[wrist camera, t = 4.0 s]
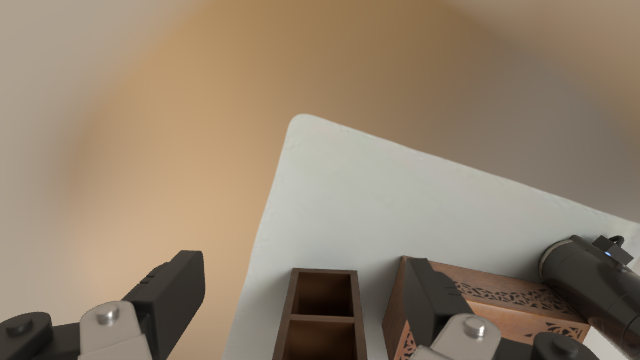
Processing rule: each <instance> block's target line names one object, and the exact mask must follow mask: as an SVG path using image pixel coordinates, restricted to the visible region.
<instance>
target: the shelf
mask: <svg viewBox="0 0 640 360" xmlns="http://www.w3.org/2000/svg"><path fill="white" fill-rule="evenodd" d="M272 360H368V359H367V351H366V342H365V334H364V326H363V318H362V309H361V301H360V293H359V284H358V276H357V271H353V270H329V269H304V268H293V270H292V274H291V279H290V283H289V287H288V292H287V296H286V301H285V305H284V309H283V314H282V318H281V322H280V327H279V331H278V336H277V340H276V344H275V349H274V353H273V357H272Z"/></svg>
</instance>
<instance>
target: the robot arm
mask: <svg viewBox="0 0 640 360" xmlns="http://www.w3.org/2000/svg"><path fill="white" fill-rule="evenodd" d="M615 241H617V242H616V243H614V242H615ZM623 242H624V238H623V237H622V236H614V237H611V238H609V239H607V238H605V237H603V236H602V235H601V236H600V237H599V238H597V239H596V240H595V241H594V242H593V243H592V244H590V243H589V242H587V241H585V240H584V239H582V238H581V237H579V236H577V235H574V236H573V237H572V238H571V239H567V240H563V241H560V242H557V243H555V244H554V245H552V246H551V247H549V248H548V249H547V250H546V251H545V253H544V254H543V255H542V257H541V259H540V262H539V274H540V277H541V279H542V280H543V281H544V282H545V283H546V284H547V285H548V286H549V287H550V288H552V289H553V290H554V291H555V292H556V293H557V294H558V295H559V296H560V297H562V298H563V299H564V300H565V301H566V302H567V303H568V304H569V305H570V306H571V307H572V308H573V309H574V310H575V311H577V312H578V313H579V314H580V315H581V316H582V317H583V318H584V319H585V320H586V321H587V322H588V323H589V324H591V325H592V326H593V327H594V328H595V329H596V330H597V331H598V332H599V333H600V334H601V335H602V336H604V338H606V339H607V340H608V341H609V342H610V343H611V344H612V345H613V346H614V347H615V348H616V349H618V351H619V352H621V353H622V354H623V355H624V356H625V357H626V358H627V359H628V360H640V276H638V275H637V274H635V273H634V272H633V271H632V270H630V269H629V268H628V267H627V266H626V265H627V264H628V263H629V262H630V261H631V260H633V259H634V258H633V257H632V256H631V255H630V254H628V253H627V252H626V251H625V250H623V249H622V248H621V245H622V244H623ZM204 295H205V276H204V261H203V254H202V252H201V251H188V250H181V251H180V252H179V253H178V254H177V255H176V256H175V257H174V258H173V259H172V260H171V261H170V262H166V263H164V264H162V265H160V266H158V267H156V268H154V269H153V270H152V271H151V272H150V273H149V274H148V275H147V276H146V277H145V278H144V279H142V280H141V281H140V284H137V285H136V286H135V287H134V288H133V289H132V290H131V291H130V292H129V293H128V294H127V295H126V296H125V297H124V298H123V299H122V300H120V301H111V302H107V303H104V304H101V305H98V306H96V307H94V308H92V309H90V310H89V311H87V312H86V313H85V314H84V315H83V316H82V317H81V319H80V322H78V323H72V324H66V325H60V326H53V327H52V322H51V317H50V315H49V314H47V313H44V312H31V313H26V314H22V315H18V316H15V317H13V318H10V319H8V320H6V321H3V322H2V323H0V360H166V359H167V357H168V356H169V354H170V352H171V351H172V350H173V348H174V346H175V345H176V343H177V342H178V340H179V339H180V337H181V335H182V334H183V332H184V331H185V329H186V328H187V326H188V324H189V323H190V321H191V320H192V318H193V317H194V315H195V313H196V312H197V310H198V309H199V307H200V306H201V304H202V302H203V299H204ZM403 308H404V312H405V315H406V318H407V321H408V324H409V327H410V330H411V333H412V336H413V339H414V342H415V345H416V347H417V349H416V350H415V351H414V353H413V354H412V355H411V357H410V358H409V359H408V360H599V359H598V358H597V357H596V355H595V354H594V353H593V352H592V351H591V350H590V349H589V348H587V347H586V346H585V345H583V344H582V343H580V342H579V341H577V340H575V339H573V338H571V337H568V336H566V335H562V334H559V333H554V332H541V333H538V334H536V335H535V337H534V340H533V345H530V344H526V343H522V342H517V341H513V340H510V339H506V338H503V337H501V332H500V330H499V328H498V327H497V326H496V325H495V324H494V323H492V322H491V321H489V320H488V319H486V318H483V317H481V316H478V315H475V313H474V312H473V310H472V309H471V307H470V306H469V304H468V303H467V301H466V300H465V298H464V297H463V296H462V294H461V292H460V291H459V289H457V286H456V285H455V283H454V282H453V280H452V279H451V278H450V277H448V276H447V275H445V274H444V273H443V272H436V271H434V269H433V268H432V266H431V264H430V263H429V261H428V259H426V258H407V259H406V263H405V273H404V285H403Z"/></svg>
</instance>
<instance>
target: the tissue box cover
mask: <svg viewBox="0 0 640 360" xmlns="http://www.w3.org/2000/svg"><path fill="white" fill-rule="evenodd" d="M407 258H413V257H408V256H403V257H402V260H401V263H400V267H399V270H398V273H397V276H396V280H395V283H394V286H393V290H392V293H391V296H390V300H389V303H388V306H387V310H386V313H385V316H384V319H383V323H382V329H383V334H384V339H385V344H386V349H387V354H388V359H389V360H408V359H409V358H410V357H411V355H412V354H413V353H414V351H415V350H416V349H417V347H416V345H415V342H414V339H413V336H412V333H411V330H410V327H409V324H408V321H407V318H406V315H405V312H404V308H403V285H404V273H405V263H406V259H407ZM429 263H430V264H431V266H432V268H433V269H434V271H436V272H443V273H444V274H445V275H447V276H448V277H450V278H451V279H452V280H453V282H454V283H455V285H456V286H457V289H459V291H460V292H461V294H462V296H463V297H464V298H465V300H466V301H467V303H468V304H469V306H470V307H471V309H472V310H473V312H474V313H475V315H478V316H481V317H483V318H486V319H488V320H489V321H491V322H492V323H494V324H495V325H496V326H497V327H498V328H499V330H500V332H501V337H503V338H506V339H510V340H513V341H517V342H522V343H526V344H530V345H533V340H534V337H535V335H536V334H538V333H541V332H554V333H559V334H562V335H566V336H568V337H571V338H573V339H575V340H577V341H579V342H580V343H583V341H584V339H585V337H586V335H587V333H588V331H589V329H590V327H591V324H589V323H588V322H587V321H586V320H585V319H584V318H583V317H582V316H581V315H580V314H579V313H578V312H577V311H575V310H574V309H573V308H572V307H571V306H570V305H569V304H568V303H567V302H566V301H565V300H564V299H563V298H562V297H560V296H559V295H558V294H557V293H556V292H555V291H554V290H553V289H552V288H550V287H549V286H548V285H544V284H540V283H535V282H530V281H525V280H520V279H515V278H510V277H505V276H501V275H496V274H491V273H486V272H481V271H476V270H471V269H467V268H462V267H457V266H452V265H447V264H442V263H437V262H432V261H429Z"/></svg>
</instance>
